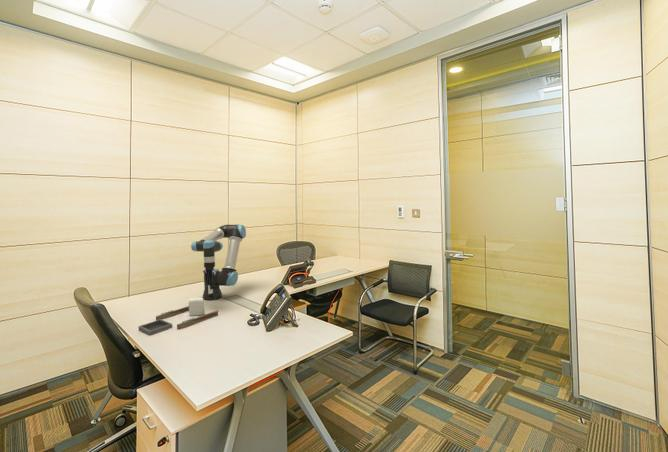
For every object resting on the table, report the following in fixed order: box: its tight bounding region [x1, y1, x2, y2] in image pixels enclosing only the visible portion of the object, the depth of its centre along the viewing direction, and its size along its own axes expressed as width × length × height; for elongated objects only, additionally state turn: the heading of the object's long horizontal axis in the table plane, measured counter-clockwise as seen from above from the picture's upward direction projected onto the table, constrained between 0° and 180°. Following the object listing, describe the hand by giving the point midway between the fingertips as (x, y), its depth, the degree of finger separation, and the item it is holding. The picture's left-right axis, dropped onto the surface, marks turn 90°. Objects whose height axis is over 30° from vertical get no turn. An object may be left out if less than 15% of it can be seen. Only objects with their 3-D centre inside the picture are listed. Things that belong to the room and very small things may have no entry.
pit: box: [137, 319, 173, 336], centre depth 206 cm, size 14×14×2 cm
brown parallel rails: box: [155, 305, 219, 330], centre depth 224 cm, size 28×30×4 cm
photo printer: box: [188, 297, 206, 317], centre depth 229 cm, size 10×4×12 cm, turn 100°
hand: (210, 293), depth 238 cm, fingers closed
